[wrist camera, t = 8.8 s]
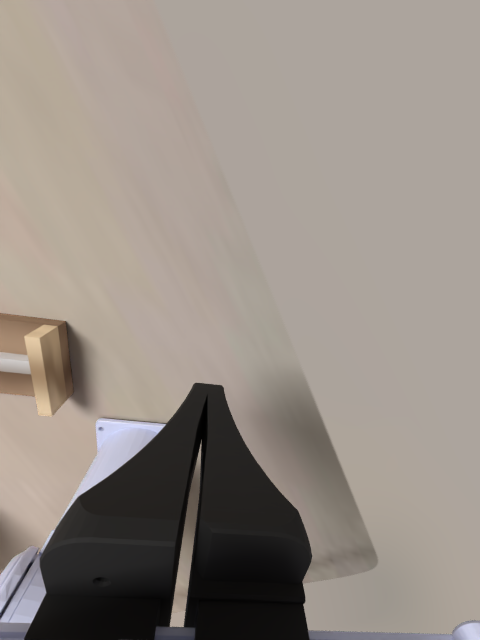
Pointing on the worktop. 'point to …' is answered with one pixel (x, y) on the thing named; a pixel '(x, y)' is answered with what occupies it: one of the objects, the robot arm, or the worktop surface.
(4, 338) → the rail board
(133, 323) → the worktop surface
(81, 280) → the worktop surface
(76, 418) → the worktop surface
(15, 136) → the worktop surface
